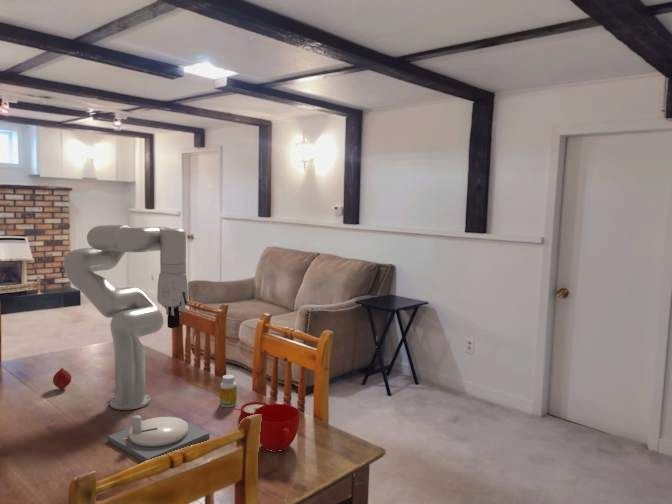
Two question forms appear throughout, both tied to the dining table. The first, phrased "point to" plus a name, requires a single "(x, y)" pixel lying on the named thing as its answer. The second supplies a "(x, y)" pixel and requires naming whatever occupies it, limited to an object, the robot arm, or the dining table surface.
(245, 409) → the alarm clock
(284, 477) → the dining table surface
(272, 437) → the ceramic cup
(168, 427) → the turntable
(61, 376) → the onion
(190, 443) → the base plate
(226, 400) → the supplement bottle
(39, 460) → the dining table surface
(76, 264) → the robot arm
